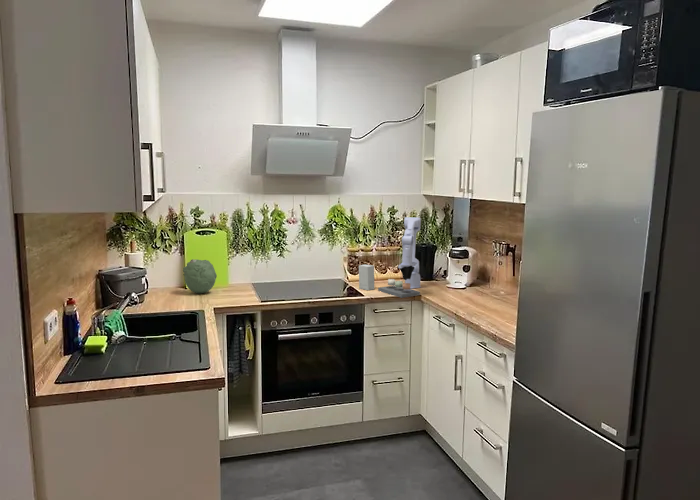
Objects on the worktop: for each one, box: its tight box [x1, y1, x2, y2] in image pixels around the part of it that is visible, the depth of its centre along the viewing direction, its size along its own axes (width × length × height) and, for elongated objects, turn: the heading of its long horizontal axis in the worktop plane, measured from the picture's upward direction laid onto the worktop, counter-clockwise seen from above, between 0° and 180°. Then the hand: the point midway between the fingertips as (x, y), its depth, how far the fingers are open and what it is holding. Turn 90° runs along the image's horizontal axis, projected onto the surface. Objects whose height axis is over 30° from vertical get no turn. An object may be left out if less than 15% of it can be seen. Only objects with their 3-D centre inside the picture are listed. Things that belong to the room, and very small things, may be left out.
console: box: [377, 285, 421, 299], centre depth 302 cm, size 14×22×2 cm, turn 34°
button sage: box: [395, 280, 404, 287], centre depth 301 cm, size 4×4×3 cm
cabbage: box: [182, 259, 218, 294], centre depth 293 cm, size 16×19×20 cm
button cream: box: [387, 278, 396, 286], centre depth 307 cm, size 4×4×3 cm
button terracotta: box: [403, 282, 410, 290], centre depth 296 cm, size 4×4×3 cm
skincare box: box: [358, 263, 375, 291], centre depth 311 cm, size 8×6×15 cm
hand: (406, 279), depth 295 cm, fingers open, 3 cm apart
